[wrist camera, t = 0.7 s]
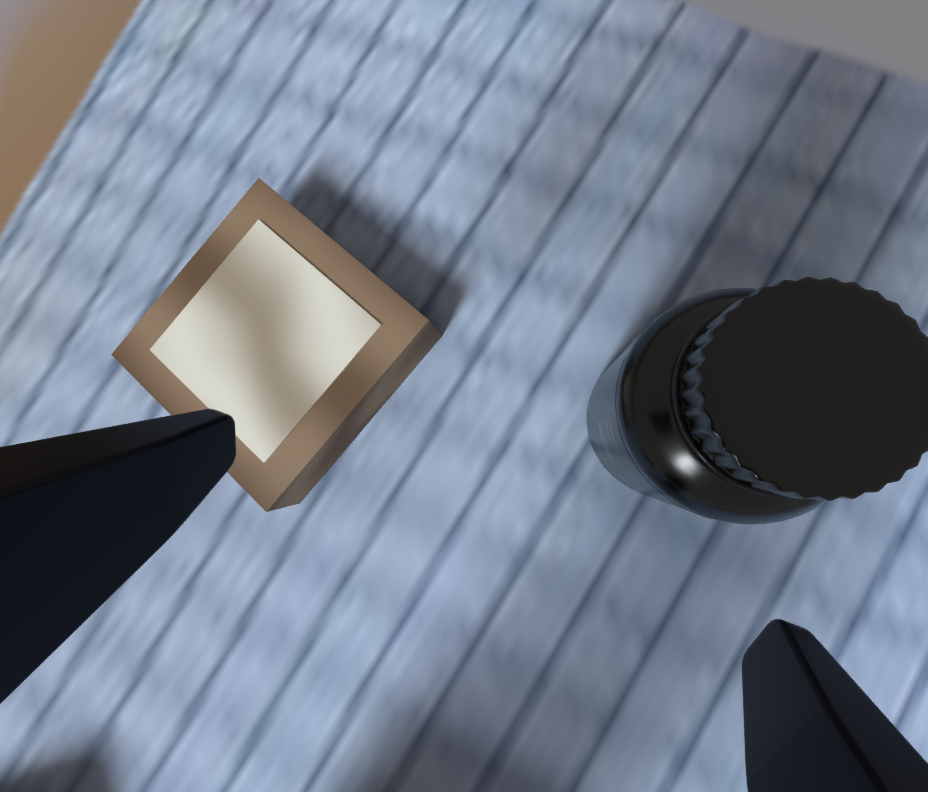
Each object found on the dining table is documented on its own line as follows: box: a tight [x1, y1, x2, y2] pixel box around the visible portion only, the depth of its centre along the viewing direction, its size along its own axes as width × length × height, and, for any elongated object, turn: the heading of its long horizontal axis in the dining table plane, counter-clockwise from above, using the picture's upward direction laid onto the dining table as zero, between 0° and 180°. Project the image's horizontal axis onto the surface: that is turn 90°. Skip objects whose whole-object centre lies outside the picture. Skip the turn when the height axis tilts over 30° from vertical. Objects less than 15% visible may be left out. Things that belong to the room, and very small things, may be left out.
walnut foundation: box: [111, 178, 442, 512], centre depth 23 cm, size 11×11×3 cm
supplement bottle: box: [587, 277, 928, 524], centre depth 16 cm, size 7×7×12 cm
